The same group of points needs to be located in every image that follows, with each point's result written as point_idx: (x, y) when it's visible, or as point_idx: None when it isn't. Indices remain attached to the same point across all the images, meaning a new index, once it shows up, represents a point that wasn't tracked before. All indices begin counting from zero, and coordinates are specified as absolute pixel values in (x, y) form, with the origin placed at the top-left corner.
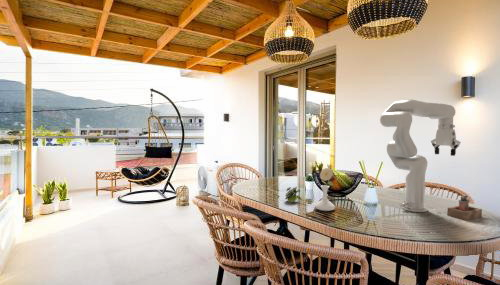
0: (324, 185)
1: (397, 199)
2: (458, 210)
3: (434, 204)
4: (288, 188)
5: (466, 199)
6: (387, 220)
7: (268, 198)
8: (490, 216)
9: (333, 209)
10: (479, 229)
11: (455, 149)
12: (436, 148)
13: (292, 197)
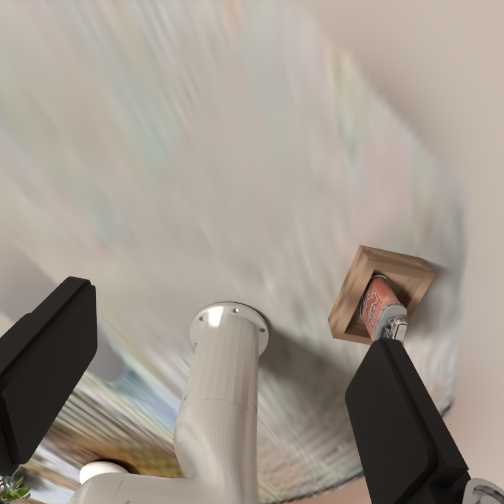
0: None
1: (104, 253)
2: (369, 344)
3: (239, 213)
4: None
5: (396, 314)
6: None
7: None
8: (449, 227)
9: (128, 473)
10: (422, 376)
11: (465, 483)
12: (24, 456)
13: (16, 497)
